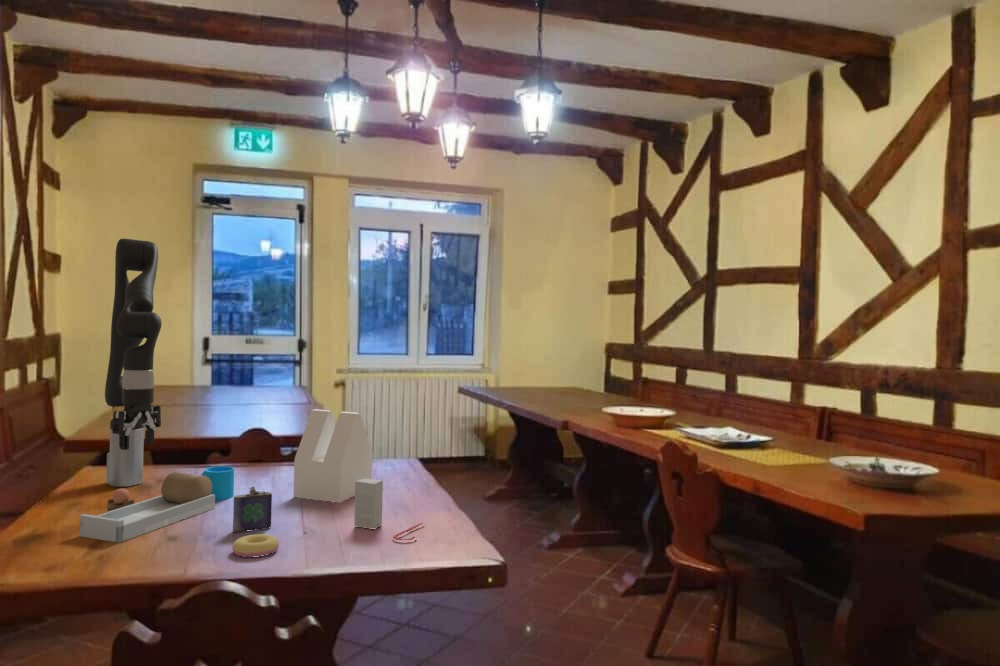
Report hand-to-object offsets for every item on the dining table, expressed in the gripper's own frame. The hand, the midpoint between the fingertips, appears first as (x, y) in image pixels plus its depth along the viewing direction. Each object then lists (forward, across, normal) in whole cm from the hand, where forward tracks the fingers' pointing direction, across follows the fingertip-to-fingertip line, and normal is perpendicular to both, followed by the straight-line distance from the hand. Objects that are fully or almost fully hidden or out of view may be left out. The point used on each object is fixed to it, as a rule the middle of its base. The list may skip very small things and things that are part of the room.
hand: (137, 446), depth 189 cm
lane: (+17, +5, +10) cm, 21 cm away
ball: (+13, +2, -2) cm, 13 cm away
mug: (+18, -21, +8) cm, 29 cm away
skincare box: (+18, -12, +63) cm, 66 cm away
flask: (+18, +2, +38) cm, 41 cm away
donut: (+18, +15, +48) cm, 54 cm away
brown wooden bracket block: (+17, +2, -2) cm, 18 cm away
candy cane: (+18, -10, +76) cm, 79 cm away
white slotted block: (+18, -38, +38) cm, 57 cm away
